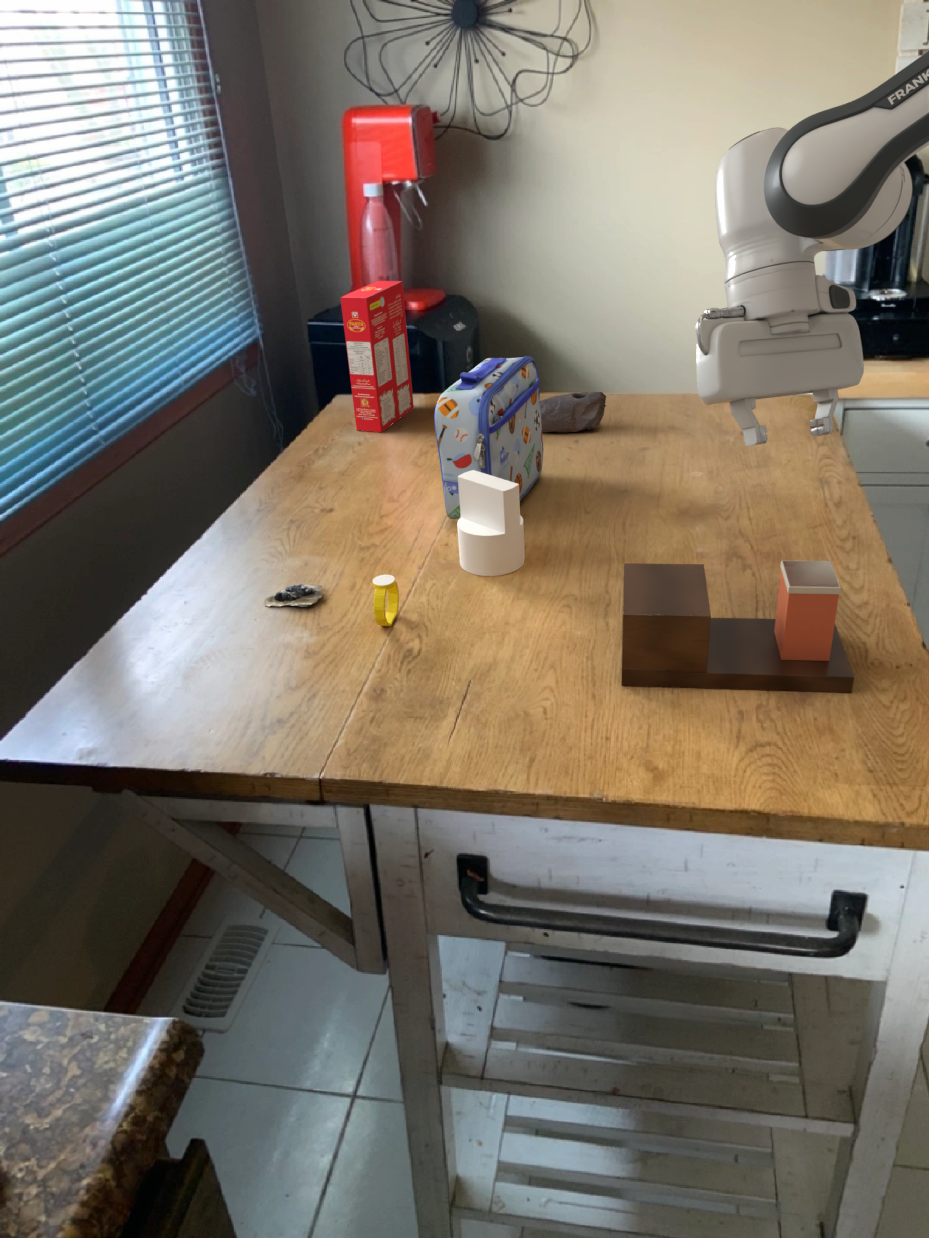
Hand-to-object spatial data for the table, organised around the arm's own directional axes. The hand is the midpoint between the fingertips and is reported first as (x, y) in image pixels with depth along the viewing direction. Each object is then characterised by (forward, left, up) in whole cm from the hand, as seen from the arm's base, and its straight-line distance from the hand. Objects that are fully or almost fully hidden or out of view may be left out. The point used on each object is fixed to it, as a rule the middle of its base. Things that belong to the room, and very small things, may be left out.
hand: (790, 440), depth 100 cm
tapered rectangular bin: (-3, +4, -22) cm, 23 cm away
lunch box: (+37, -41, -24) cm, 60 cm away
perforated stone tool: (+28, -74, -24) cm, 83 cm away
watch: (+46, -3, -24) cm, 52 cm away
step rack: (+5, +4, -24) cm, 25 cm away
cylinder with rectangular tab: (+35, -20, -24) cm, 47 cm away
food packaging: (+64, -82, -24) cm, 106 cm away
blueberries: (+60, -8, -24) cm, 65 cm away
